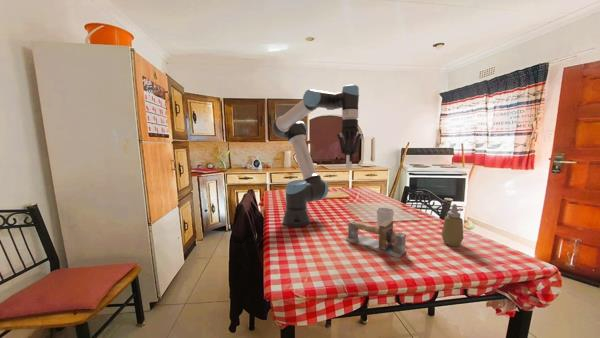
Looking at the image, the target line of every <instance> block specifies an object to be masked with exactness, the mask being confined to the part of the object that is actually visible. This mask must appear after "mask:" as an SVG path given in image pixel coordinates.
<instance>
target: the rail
mask: <svg viewBox="0 0 600 338" xmlns="http://www.w3.org/2000/svg"><path fill="white" fill-rule="evenodd" d="M347 226H348V227H347V232H348V233H347V237H346V238H345V241H346V242H350V243H353V244H355V245H359V246H363V247H365V248H368V249H371V250H374V251H377V252H380V253H382V254H386V255H389V256H392V257H395V258H398V259H401V258H402V256H403V255H404V254H405V253H406V252H407V248H406V237H407V236H406V233H404V232H400V231H396V230H395V231H394V230H393V231H390V230H389V231H388V232H387V237H389V238H392V239H393V241H394V243H392V244H391V245H390V246H389V247H388V248H386V249H385V250H382V249H379V239H374V238H371V237H368V236H365V235H361V234H359V230H361V231H365V232H367V233H372V234H374V235H378V236H379V227H378V226H375V225H371V224H367V223H364V222H361V221H360V222H359V221H356V220H351V221H349V222H348V225H347Z"/></svg>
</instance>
